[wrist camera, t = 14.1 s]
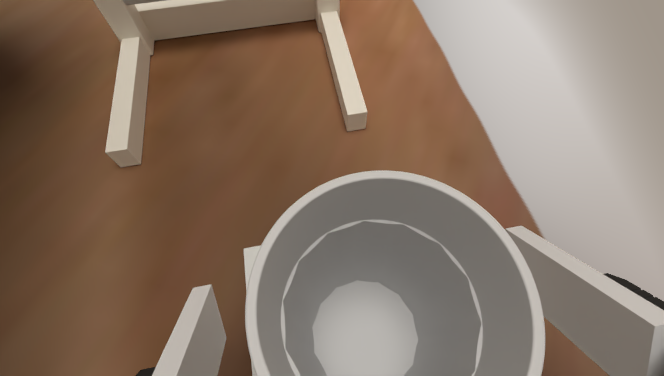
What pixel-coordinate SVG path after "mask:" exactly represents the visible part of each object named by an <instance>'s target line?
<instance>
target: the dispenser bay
mask: <svg viewBox="0 0 664 376" xmlns="http://www.w3.org/2000/svg"><path fill="white" fill-rule="evenodd" d="M93 1H94V3H95V4H96V6H97V7H98V9H99V10H100V12H101V13H102V15H103V16H104V18H105V19H106V21H107V22H108V24H109V25H110V27H111V28H112V30H113V31H114V33H115V35H116V36H117V38H118V39H119V41H120V42H121V48H120V55H119V62H118V68H117V75H116V82H115V89H114V96H113V102H112V109H111V116H110V123H109V130H108V136H107V143H106V150H105V153H106V154H107V155H108V156H109V157H110V158H111V159H112V160H114V161H115V162H116V163H117V164H118V165H119V166H120V167H126V166H132V165H139V164H141V159H142V148H143V136H144V124H145V113H146V101H147V90H148V78H149V67H150V55H153V52H154V41H155V40H162V39H170V38H177V37H185V36H193V35H200V34H208V33H215V32H223V31H230V30H238V29H246V28H253V27H261V26H268V25H276V24H283V23H291V22H298V21H306V20H314V19H316V23H317V27H318V31H319V33H320V32H321V33H322V36H323V40H324V44H325V48H326V52H327V56H328V60H329V64H330V67H331V71H332V75H333V79H334V83H335V87H336V91H337V95H338V98H339V102H340V106H341V110H342V114H343V118H344V122H345V126H346V129H347V131H353V130H360V129H365V128H366V119H367V109H366V106H365V102H364V99H363V96H362V93H361V89H360V86H359V83H358V79H357V76H356V73H355V69H354V66H353V63H352V59H351V56H350V53H349V50H348V46H347V43H346V40H345V36H344V33H343V30H342V26H341V23H340V20H339V15H340V0H93Z"/></svg>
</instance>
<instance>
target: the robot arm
mask: <svg viewBox="0 0 664 376" xmlns="http://www.w3.org/2000/svg"><path fill="white" fill-rule="evenodd" d="M505 231H506V232H507V233H508V234H509V236H510V237H511V238H512V240H513V241H514V243H515V244H516V246H517V247H518V249H519V250H520V252H521V254H522V255H523V257H524V259H525V261H526V263H527V265H528V267H529V269H530V271H531V274H532V276H533V278H534V281H535V284H536V287H537V290H538V293H539V297H540V301H541V305H542V310H543V316H544V317H545V318H546V319H547V320H548V321H549V322H551V323H552V324H553V325H554V326H555V327H556V328H557V329H558V330H559V331H561V332H562V333H563V334H564V335H565V336H566V337H567V338H568V339H569V340H571V341H572V342H573V343H574V344H575V345H576V346H577V347H578V348H580V349H581V350H582V351H583V352H584V353H585V354H586V355H587V356H588V357H590V358H591V359H592V360H593V361H594V362H595V363H596V364H597V365H598V366H600V367H601V368H602V369H603V370H604V371H605V372H606V373H607V374H608V375H610V376H664V301H662V300H660V299H658V298H657V297H655V298H654V297H653V295H651V294H650V293H648V292H646V291H644V290H641V289H640V288H639V287H637V286H636V285H634V284H632V283H630V282H629V281H627V280H625V279H622V278H619V277H616V276H613V275H611V274H608V273H607V274H602V273H600V272H598V271H597V270H595V269H593V268H592V267H590V266H588V265H587V264H585V263H583V262H582V261H580V260H578V259H577V258H575V257H573V256H571V255H570V254H568V253H567V252H565V251H563V250H561V249H560V248H558V247H556V246H555V245H553V244H551V243H550V242H548V241H546V240H545V239H543V238H541V237H540V236H538V235H536V234H535V233H533V232H531V231H530V230H528V229H526V228H525V227H523V226H517V227H512V228H507V229H505ZM225 342H226V334H225V331H224V327H223V324H222V320H221V316H220V313H219V309H218V306H217V302H216V299H215V295H214V292H213V288H212V285H206V286H200V287H195V288H193V289H192V291H191V293H190V295H189V298H188V300H187V302H186V304H185V306H184V308H183V310H182V312H181V315H180V317H179V319H178V321H177V323H176V325H175V327H174V330H173V332H172V334H171V336H170V338H169V340H168V342H167V345H166V347H165V349H164V351H163V353H162V355H161V357H160V359H159V362H158V364H157V366H156V367H153V368H148V369H143V370H140V371H139V372H138V374H137V375H136V376H217V375H218V371H219V367H220V363H221V359H222V355H223V350H224V346H225Z"/></svg>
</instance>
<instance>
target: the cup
mask: <svg viewBox="0 0 664 376" xmlns="http://www.w3.org/2000/svg"><path fill="white" fill-rule="evenodd" d="M245 326H246V336H247V343H248V348H249V353H250V357H251V360H252V364H253V367H254V370H255V373H256V376H541V374H542V370H543V364H544V356H545V324H544V316H543V310H542V305H541V301H540V297H539V293H538V290H537V287H536V284H535V281H534V278H533V276H532V274H531V271H530V269H529V267H528V265H527V263H526V261H525V259H524V257H523V255H522V254H521V252H520V250H519V249H518V247H517V246H516V244H515V243H514V241H513V240H512V238H511V237H510V236H509V234H508V233H507V232H506V231H505V230H504V228H503V227H502V226H501V225H500V224H499V223H498V222H497V221H496V220H495V219H494V218H493V217H492V216H491V215H490V214H489V213H488V212H487V211H486V210H485V209H484V208H482V207H481V206H480V205H479V204H477V203H476V202H475V201H473V200H472V199H470V198H469V197H467V196H466V195H464V194H463V193H461V192H459V191H458V190H456V189H454V188H452V187H450V186H448V185H446V184H444V183H441V182H439V181H436V180H434V179H431V178H428V177H424V176H421V175H417V174H412V173H407V172H400V171H366V172H360V173H354V174H350V175H346V176H343V177H339V178H337V179H334V180H331V181H329V182H327V183H324V184H322V185H320V186H319V187H317V188H315V189H313V190H312V191H310V192H308V193H307V194H305V195H304V196H303V197H301V198H300V199H299V200H297V201H296V202H295V203H294V204H293V205H292V206H291V207H289V208H288V209H287V210H286V211H285V212H284V214H283V215H282V216H281V217H280V218H279V219H278V220H277V222H276V223H275V224H274V226H273V227H272V228H271V230H270V231H269V233H268V234H267V236H266V238H265V240H264V241H263V243H262V245H261V247H260V249H259V251H258V254H257V256H256V259H255V261H254V264H253V267H252V270H251V274H250V278H249V282H248V287H247V294H246V304H245Z"/></svg>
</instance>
